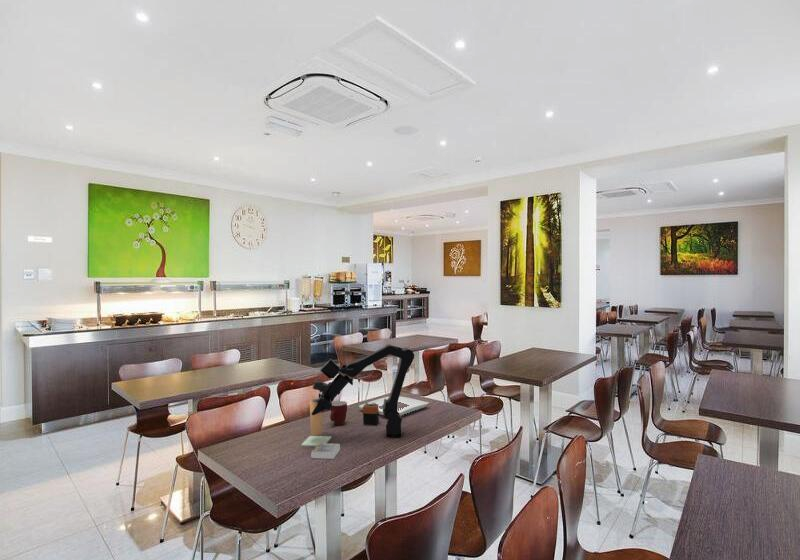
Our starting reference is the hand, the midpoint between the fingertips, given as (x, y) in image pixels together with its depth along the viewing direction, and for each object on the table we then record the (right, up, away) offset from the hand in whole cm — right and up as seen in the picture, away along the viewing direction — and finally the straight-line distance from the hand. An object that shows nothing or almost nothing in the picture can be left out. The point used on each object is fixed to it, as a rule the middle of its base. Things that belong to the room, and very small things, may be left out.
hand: (312, 412), depth 187 cm
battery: (+24, -12, +21) cm, 34 cm away
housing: (+8, -12, -13) cm, 20 cm away
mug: (+8, -13, +21) cm, 26 cm away
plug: (+2, -9, 0) cm, 9 cm away
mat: (+2, -13, 0) cm, 13 cm away
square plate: (+35, -12, +42) cm, 56 cm away
